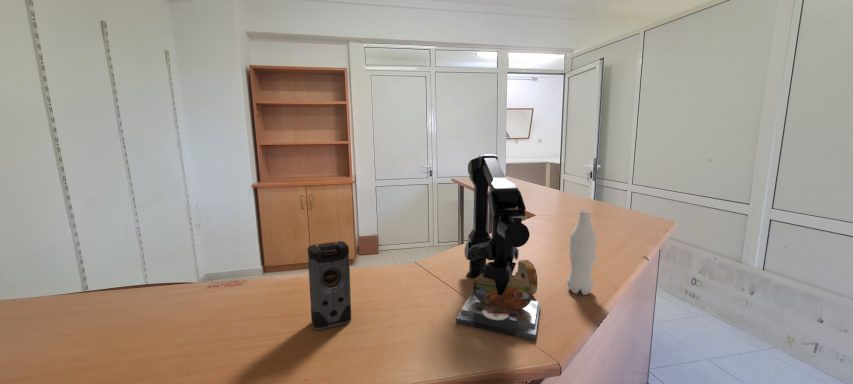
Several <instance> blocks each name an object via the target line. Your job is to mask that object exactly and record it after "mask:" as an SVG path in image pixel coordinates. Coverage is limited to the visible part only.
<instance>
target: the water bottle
mask: <svg viewBox="0 0 853 384" xmlns="http://www.w3.org/2000/svg"><path fill="white" fill-rule="evenodd" d="M577 220H578V222H577V224H576V225H575V227H574V229H573V230H572V232H571V233H570V236H569V239H570V241H569V253H568V256H569V258H570V259H569V260H570V264H571V269H570V274H569V275H568V278H567V280H566V281H567V287H568V289H569V290H570V292H571V293H573V294H575V295H577V294H579V292H581V295H583V296H587V295H589V294H590V292H591V291H592V289H593V288H594V282H593V279H592V267H593V265H594V263H595V261H596V245H597V235H596V233H595V230H594V229H593V227H592V224H591V220H592V218H591V211H590V210H579V213H578V218H577Z"/></svg>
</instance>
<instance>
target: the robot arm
mask: <svg viewBox="0 0 853 384" xmlns="http://www.w3.org/2000/svg"><path fill="white" fill-rule="evenodd" d="M467 174H468V175H469V180H470V181H471V183H472V184H473V221H472V222H473V223H472V225H473V226H472V229H471V231H470V233H469V234H468V235H467V236H468V237H467V242H466V243H465V247H464V257H465V259H466V260H467V261H469V264H468V265H469V267H468V269H469V270H468V272H467V273H466V275H465V276H466V277H469V278H473V279H474V278H475V279H476V278H477V277H478V276H479V275H480V274H482V273H483V277H484V278H488V279H494V281H495V284H496V288H497V292H498V295H503V293H504V290H505V288H506V286H507V284H508V282H509V280H510V278H511V275H513V272H514V270H515V267H516V265H517V263H516V262H514V260H517V261H518V258H519V255H520V251H519V249H518V248H520V247H523V246H524V245H526V244H527V243H528V241H529V239H530V236H531V235H530V230H529V228H528V227H527V226H526V225H525V223H523V221H522V217H526V209H527V208H526V205H525V201H524V198H523V195H522V192H521V191H520V190H519V187H518V186H517V185H516V184H515V183H514V182H512V181H510V180H508V179H507V177H506V175H505V173H504V171H503V169H502V167H501V165H500V162H499V157H498V155H497V154H481V155H479V156H477V157H476V158H472V159H471V160H470V161H469V162H468V164H467ZM488 205H489V207H488ZM488 208H489V209H490V210H489V211H490V214H491V215H492V216H491V236H490V234H489V232H488ZM487 260H488V262H487Z"/></svg>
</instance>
